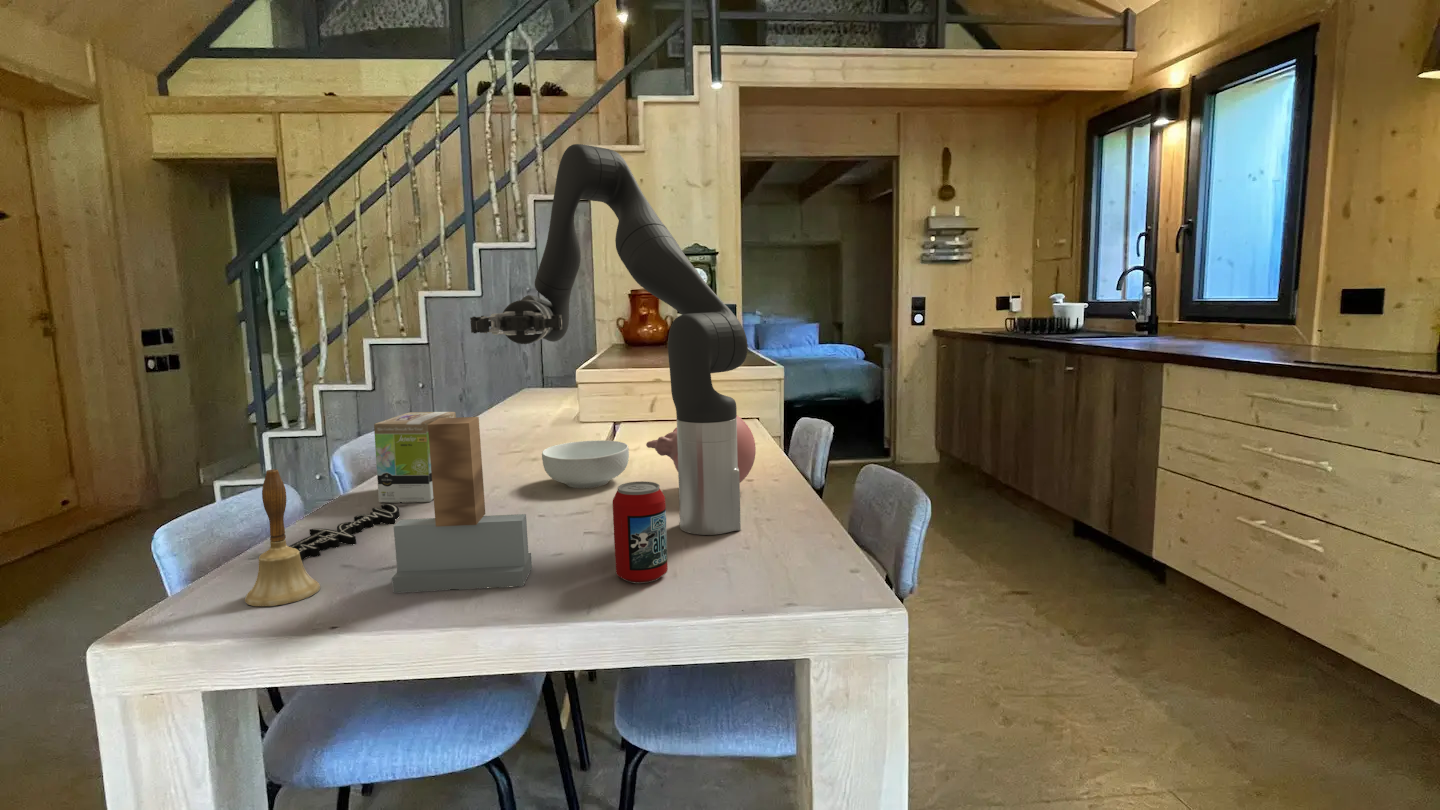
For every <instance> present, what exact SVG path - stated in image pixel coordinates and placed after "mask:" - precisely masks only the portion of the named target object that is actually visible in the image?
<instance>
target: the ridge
mask: <svg viewBox="0 0 1440 810" xmlns="http://www.w3.org/2000/svg"><path fill="white" fill-rule="evenodd" d="M392 526H393V536H394V547H395V548H394V549H395V558H396V571H397V572H395V574H394V575H393V576H392V577H391V580H392V591H393V592H392V593H395V594H396V593H415V592H417V591H418V592H434V590H435V591H436V590H439V591H451V590H450V589H459V590H474V589H473V588H479V589H491V588H490V587H499V588H510V587H509V586H519V587H524V585H525V583H524V582H526V581H527V579H528V577H527V576H529V575H528V574H530V573H531V571H530V570H532V569H533V560H532V556H533V555H532V552H529V540H528V523H527V514H526V513H522V514H521V513H520V514H519V513H517V514H499V515H498V514H497V515H495V514H494V515H493V514H492V515H484V516H483V517H482V519H481V520H480V521H479V522H478V523H477V525H461V526H438V527H436V523H435V517H427V518H425V517H424V518H405V519H400V520H399V521H398V522H396V523H395V524H393V525H392ZM529 572H530V573H529ZM526 578H527V579H526ZM525 580H526V581H525ZM523 584H524V585H523ZM507 586H508V587H507ZM487 587H489V588H487ZM470 588H472V589H470ZM448 589H449V590H448Z"/></svg>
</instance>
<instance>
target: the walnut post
mask: <svg viewBox="0 0 1440 810" xmlns="http://www.w3.org/2000/svg"><path fill="white" fill-rule="evenodd" d="M428 435H429V447H430V460H431V472H432V485H433V498H434V499H433V505H434V506H433V509H434V518H435V523H436V527H438V526H461V525H477V523H478V522H479V521H480V520H481V519H482V517H483V516H486V503H485V490H484V488H485V487H484V473H483V459H482V457H483V456H482V447H481V446H482V445H481V431H480V417H479V416H467V417H466V416H463V417H456V418H439V419H437V420H435V421H433V422H432V423H430V424H428Z"/></svg>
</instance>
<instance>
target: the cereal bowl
mask: <svg viewBox="0 0 1440 810" xmlns="http://www.w3.org/2000/svg"><path fill="white" fill-rule="evenodd" d="M629 451H630V448H629V446H628V444H627V443H625V442H622V441H617V440H616V441H615V440H604V439H603V440H600V439H599V440H596V439H595V440H583V441H582V440H581V441H572V442H571V441H570V442H564V443H561V444H556V445H552V446H549V447H547V448H545V449H543V450H542V451H541V452H542V453H541V460H542V466H543V469H544V471H545V472H546V474H547V475H548V476H549V477H550V478H551V479H552V480H554V481H556V482H559V483H562V484H565V485H567V487H570V488H573V489H592V488H593V489H594V488H599V487H602V486H605V485H607V484H608V483H609V481H611V480H613V479H615V478H617V477H619V476H620V475H621V474H622V473H623V472H624V471H625V470H626V468H627V466H628V464H629V458H630V452H629Z"/></svg>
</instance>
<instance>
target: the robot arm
mask: <svg viewBox="0 0 1440 810" xmlns="http://www.w3.org/2000/svg"><path fill="white" fill-rule="evenodd" d="M555 181H556V182H555V186H554V193H553V199H552V205H551V211H550V212H551V213H550V218H549V219H550V221H549V227H548V233H547V238H546V239H547V240H546V244H545V248H544V250H543V254H542V257H541V260H540V263H539V266H538V269H537V272H536V275H535V279H534V288H535V290H536V292H538V293H539V294H540V295H541V296H542V297H544V298H545V299H546V300H548V301H549V302H548V301H546V300H544V299H542V298H540V297H538V296H536V295H531V294H528V295H527V294H526V295H525V296H524V297H522V299H520V300H516V301H515V300H514V301H513V302H511V303H509V304H508V305H507V306H506V307H505V308H504V310H503V311H502V313H501V312H500V313H491V314H490V316H485V315H480V316H472V317H470V332H471V334H472V333H473V334H477V333H480V334H488V333H491V334H492V335H494V336H495V335H496V336H497V335H498V336H499V335H505V336H506V337H507V339H509V340H510V341H511V342H513V343H516V344H519V345H528V344H532V343H535V342H538V341H540V340H542V339H544V340H546V341H548V342H553V343H554V342H557V341H560V340H561V339H563V337H564V336H565V335H566V333H567V332H568V328H569V323H570V301H571V293H572V289H573V287H574V283H575V280H576V279H577V276H578V272H579V270H580V266H581V257H582V256H581V247H580V243H579V240H578V236H577V233H576V232H577V231H576V227H575V214H576V211H577V207H578V206H579V203H580V201H582V200H583V201H591V202H592V201H593V202H600V203H604V204H605V205H606V206H608V207H609V208H610V209H611V210H612V212H613V213H614V215H615V216H616V218H617V219H618V223H617V228H616V232H615V240H614V241H615V249H616V252H617V254H618V257H619V259H620V261H621V262H622V264H623V265H624V267H625V268H626V270H627V271H628V273H629V274H630V276H631V277H632V278H633V280H634V281H635V282H636V283H637V284H638V286H640V287H641V288H642V289H644V290H645V291H647V292H648V293H650V294H651V295H652V296H654V297H656V298H657V299H659V300H660V301H661V302H663V303H665V304H667V305H668V306H669V307H671V308H673V309H675V311H677V312H678V313H679V314H680V315H678V316H677V317H676V318H675V319H674V320H673V321H672V323H671V325H670V327H669V332H668V337H667V338H668V340H667V354H668V356H667V357H668V367H669V376H670V377H669V379H670V388H671V390H670V391H671V398H672V400H673V401H672V402H673V404H674V408H675V412H676V413H675V414H676V427H677V445H678V471H677V473H678V475H677V476H678V502H679V503H678V505H679V514H678V515H679V517H678V518H679V528H680V529H681V530H682V531H684V532H685V533H688V534H691V535H692V534H694V535H704V536H705V535H706V536H710V535H713V536H714V535H721V534H726V533H730V532H735V531H741V530H742V529H741V492H740V491H741V488H740V485H741V482H740V477H739V469H738V459H737V416H738V414H737V411H738V410H737V403H736V400H735V399H734V398H733V397H731V396H728V395H725V394H721V393H719V392H718V391H717V390H715V388H714V387H713V382H712V374H718V373H724V372H730V371H733V370H736V369H737V368H738V369H739V367H741V366H742V365H743V363H744V362H745V361H746V359H747V356H748V350H749V349H748V347H749V346H748V345H749V344H748V338H747V334H746V332H745V329H744V327H743V325H742V323H741V322H740V320H739V319H738V317H737V316H736V315H735V313H733V311H732V310H731V309H730V308H729V307H728V306H727V304H726V303H724V301H723V300H721V297H719V296H718V295H717V294H716V293H715V292H714V291H713V289H712V288H711V287H710V286H709V284H707V283H706V281H705V280H704V279H703V277H702V276H701V275H700V273H699V272H698V271H697V269H696V267H694V265H693V264H692V262H691V261H690V259H688V257H687V255H685V253H684V252H683V250H682V248H681V247H680V245H679V244H678V241H676V239H675V237H674V236H673V235H672V234H671V232H670V231H669V229H668V227H667V226H666V225H665V224H664V223H663V222H662V220H661V219H660V218H659V216H658V215H657V213H656V212H655V210H654V208H653V207H652V206H651V204H650V202H649V201H648V199H647V198H646V197H645V195H644V193H643V191H642V189H641V188H640V186H639V184H638V182H637V180H636V177H635V176H634V174H633V172H632V170H631V168H630V166H629V165H628V163H627V162H626V160H625V158H624V157H623V156H622V155H621V154H620V153H619V152H617V151H616V150H613V149H609V148H606V147H600V146H593V145H589V144H581V143H575V144H574V143H573V144H571V145H569V146H568V147H566V149H565V150H564V152H563V154H562V156H561V159H560V162H559V165H558V169H557V173H556V179H555ZM490 327H491V328H490Z"/></svg>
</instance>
